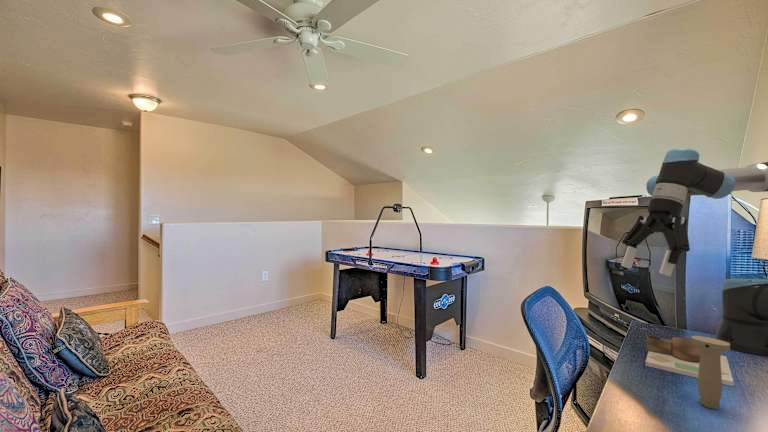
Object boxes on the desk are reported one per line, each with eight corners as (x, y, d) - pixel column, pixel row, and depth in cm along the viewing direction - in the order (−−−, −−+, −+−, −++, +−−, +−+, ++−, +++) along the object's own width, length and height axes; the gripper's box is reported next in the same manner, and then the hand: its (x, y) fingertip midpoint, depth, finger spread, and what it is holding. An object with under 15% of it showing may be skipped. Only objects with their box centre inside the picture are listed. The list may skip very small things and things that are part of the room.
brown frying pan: (702, 356, 103) (702, 341, 103) (703, 363, 98) (703, 347, 98) (648, 345, 112) (648, 331, 112) (645, 351, 107) (646, 336, 107)
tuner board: (726, 360, 104) (726, 356, 104) (733, 386, 88) (733, 381, 88) (651, 345, 116) (651, 341, 116) (645, 365, 100) (645, 361, 100)
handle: (726, 416, 75) (727, 347, 75) (687, 402, 80) (688, 338, 80) (731, 409, 77) (732, 342, 77) (694, 396, 83) (695, 334, 83)
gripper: (622, 199, 111) (602, 261, 111) (697, 193, 87) (671, 273, 86) (643, 206, 112) (623, 268, 111) (723, 203, 87) (697, 283, 86)
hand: (644, 270), depth 99 cm, fingers open, 13 cm apart
